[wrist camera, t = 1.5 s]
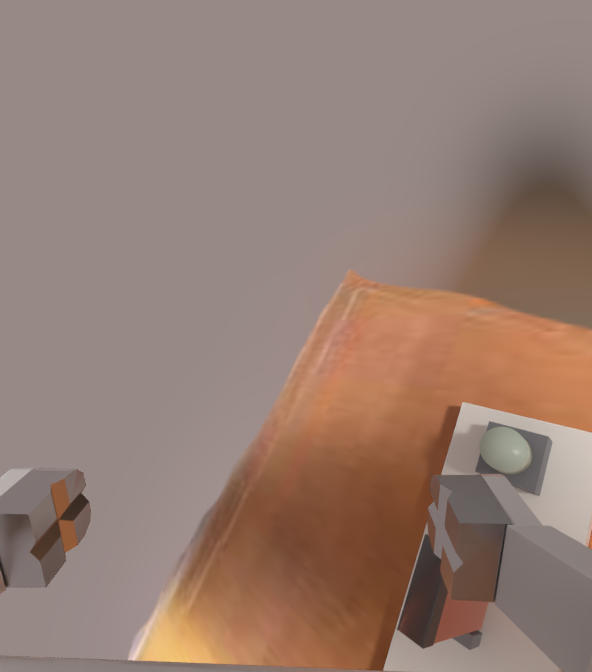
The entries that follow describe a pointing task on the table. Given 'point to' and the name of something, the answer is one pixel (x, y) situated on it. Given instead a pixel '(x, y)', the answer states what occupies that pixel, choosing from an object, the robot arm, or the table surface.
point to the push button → (506, 450)
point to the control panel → (550, 509)
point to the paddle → (436, 605)
